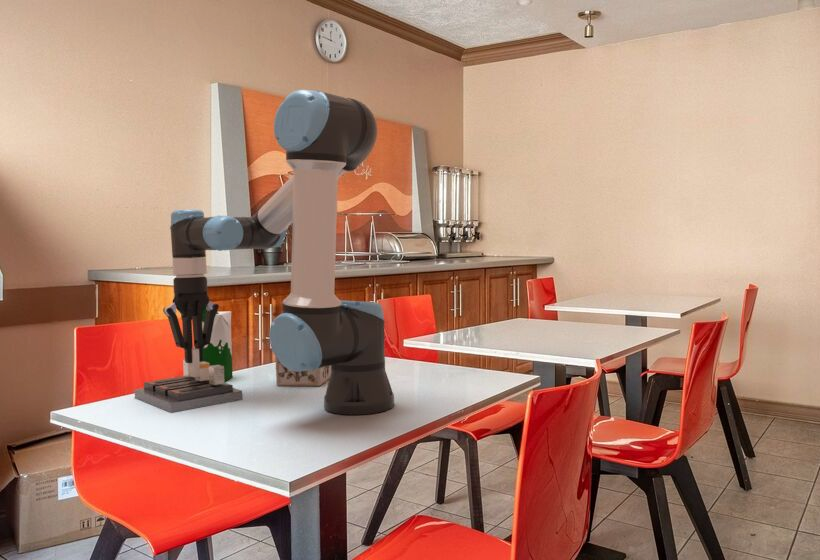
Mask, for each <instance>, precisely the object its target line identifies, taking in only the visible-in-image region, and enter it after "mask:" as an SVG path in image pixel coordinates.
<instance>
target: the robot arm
mask: <svg viewBox="0 0 820 560" xmlns="http://www.w3.org/2000/svg"><path fill="white" fill-rule="evenodd" d="M273 134H274V138H275V140H276V141H277V143H278V145H279V147H281V148H282V149H283V150H285V153H286V154H285V157H286V158H285V162H286V164H287V165H288V166H289V167H290V168H291V169H292V171H293V175H291V177H290V178H289V179H287V180H286V181H285V183H283V184H282V186H281V187H279V189H278V190H277V191H275V193H274V194H273V195H272V196H271V197H270V198H269V199H268V200H267V201H266V202H265V203H264V204H263V205H262V207H260V209H259V210H258V211H256V213H254V214H253V215H252V216H229V215H215V216H209V217H207V216H206V217H205V213H204V211H203V210H202V209H175V210H173V211H172V212H171V214H170V226H169V230H170V239H171V240H170V241H171V254H172V275H173V276H175V277H174V278H173V295H174V296H173V300H172V303H171V304H169V306H168V307H167V306H166V307H164V308H163V312H164V314H165V315H166V317H167V318H168V322H169V326H170V329H171V333H172V335H173V336H172V337H173V339H174V344H175V347H178V348H180V349H183V350H184V359H185V362H186V363H189V376H191V377H200V362H201V361H202V360H203V352H202V349H203V348H204V346H205V345H208V344H210V340H211V334H212V329H213V323H214V318H215V313H216V311H217V312H218V309H219V306H220V305H219V304H218V303H214V302H213V301H210V297H209V295H208V278H207V277H206V276H205V275H206V274H207V273H208V271H207V255H206V254H207V253H206V252H207V251H219V252H221V251H232V250H235V251H236V250H253V249H254V250H268V249H274V248H279V247H280V246H281V245H282V244H283V243H284V240H285V238H286V234H287V231H286V229H287V228H288V227H289V226H291V225H292V229H291V231H292V232H291V233H292V234H291V264H290V265H291V268H290V269H291V270H290V271H291V272H290V293H289V294H288V295H287V297H285V298H284V299H283V300H282V310H281V311H282V313H280V314H279V315H277V316H276V317H275V318H274V319H273V321H272V322H271V324H270V327H269V333H268V334H269V336H268V337H269V343H270V348H271V350H272V352H273V354H274V356H275V358H276V357H277V358H278V360H279V362H280V363H281V364H282V365H283V366H284V367H286V368H287V369H289V370H292V371H297V372H300V371H312V370H316V369H317V368H322V367H326V366H330V365H331V376H330V379H329V380H328V383H327V387H326V391H325V395H324V397H323V405H324V406H323V408H324V410H326V411H327V412H328V413H333V414H338V415H353V416H354V415H368V414H371V415H372V414H377V413H381V412H385V411H388V410H391V409H393V408H394V406H395V396H394V395H395V394H394V391H393V390H392V386H391V383H390V380H389V378H388V377H389V376H388V374H387V372H386V354H385V353H386V350H385V349H386V347H385V346H386V345H385V343H386V341H385V340H386V339H385V318H384V316H385V315H384V308H383V306H382V305H381V304H380V303H379V302H375V301H363V300H361V301H360V300H359V301H358V300H357V301H356V300H343V299H342V300H340V299H339V298H338V296H336V294H335V288H336V287H335V285H336V283H335V279H336V278H335V277H336V256H337V255H336V253H337V251H336V249H337V223H338V222H337V218H338V216H337V215H338V191H339V189H338V188H339V185H338V184H339V179H340V178H341V177H342V176H343V175H344V174H345V173H352V172H354V171H355V170H356V169H357V168H359V166H360V165H361V164H363V163H364V162H365V160H366V159H367V158H368V157H369V155H370V154H371V153H372V151H373V149H374V147H375V145H376V142H377V138H378V124H377V121H376V118H375V116H374V113H373V111H372V110H371V109H370V108H369V107H368V106H367V105H366V104H364V103H363V102H361V101H360V100H357V99H356V98H355V99H354V98H351V97H344V96H339V95H335V94H331V93H328V92H324V91H321V90H310V89H298V90H295V91H293V92H291V93H289V94H288V95H287V96H285V98H284V99H283V102H281V103H280V104H279V105H278V108H277V111H276V113H275V116H274V120H273ZM206 306H207V307H206ZM205 308H206V309H207V312H206V315H205V321H204V327H203V332H202V319H203V311H204V309H205ZM177 311H178V312H179V313H180V318H181V320H182V321H181V323H182V328H181V325H180V322H179V319H178V316H177V314H176V313H177Z"/></svg>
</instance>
